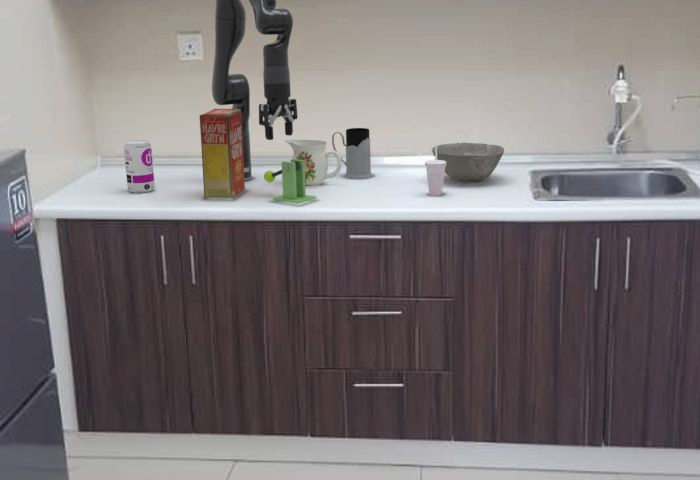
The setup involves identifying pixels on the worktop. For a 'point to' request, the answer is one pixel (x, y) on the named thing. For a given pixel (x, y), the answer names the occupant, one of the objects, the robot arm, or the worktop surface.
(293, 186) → the green crank stand
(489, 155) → the ceramic bowl
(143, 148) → the supplement can
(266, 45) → the robot arm
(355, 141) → the glass holder
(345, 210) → the worktop surface
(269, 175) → the switch lever
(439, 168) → the smoothie
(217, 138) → the food packaging
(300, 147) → the pitcher
